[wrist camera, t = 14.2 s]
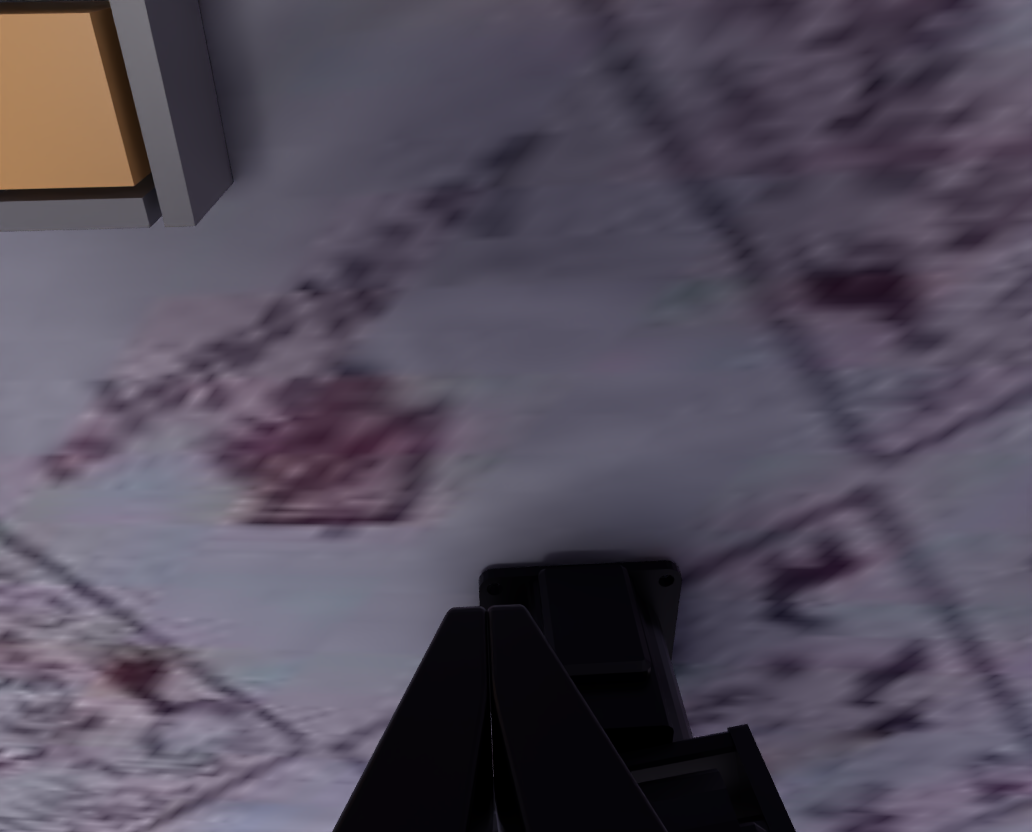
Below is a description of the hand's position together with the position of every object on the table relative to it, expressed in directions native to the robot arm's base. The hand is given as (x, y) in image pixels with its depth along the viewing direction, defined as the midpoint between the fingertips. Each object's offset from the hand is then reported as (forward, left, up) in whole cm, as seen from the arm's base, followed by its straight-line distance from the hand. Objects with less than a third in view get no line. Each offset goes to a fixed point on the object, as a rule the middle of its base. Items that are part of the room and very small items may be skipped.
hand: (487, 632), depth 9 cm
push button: (+4, +8, -12) cm, 15 cm away
